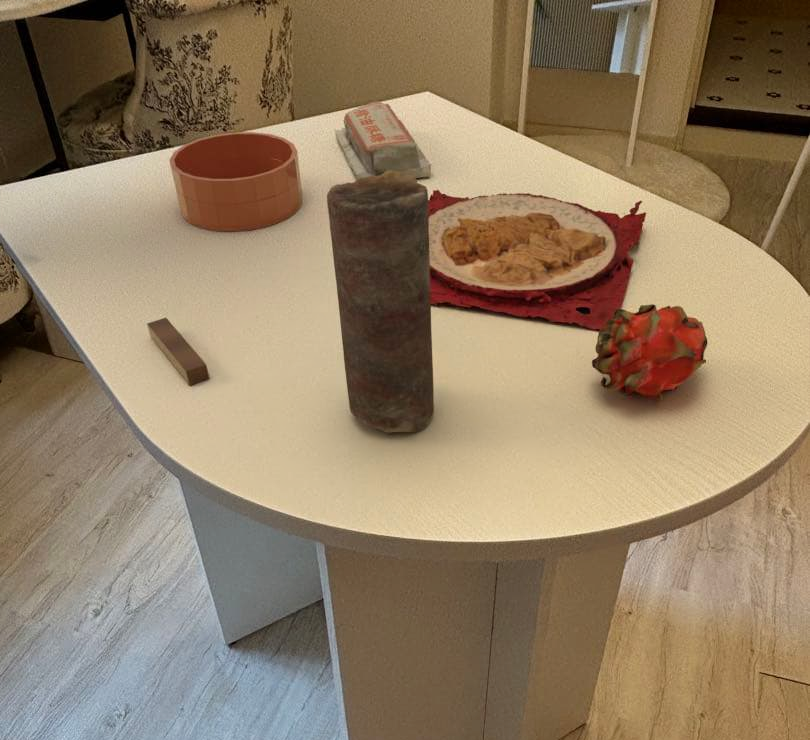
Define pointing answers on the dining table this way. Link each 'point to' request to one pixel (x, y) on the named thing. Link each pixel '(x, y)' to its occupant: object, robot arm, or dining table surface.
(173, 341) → the brown wooden bar
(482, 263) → the plate with food
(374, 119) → the packaged product
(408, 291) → the candle
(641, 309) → the dragon fruit
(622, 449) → the dining table surface
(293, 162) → the bowl
